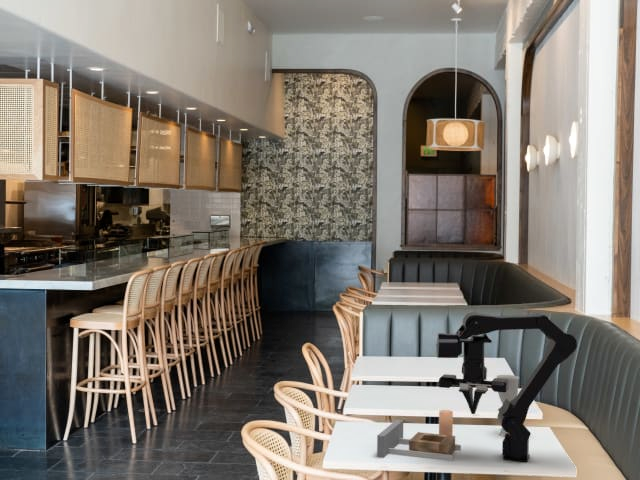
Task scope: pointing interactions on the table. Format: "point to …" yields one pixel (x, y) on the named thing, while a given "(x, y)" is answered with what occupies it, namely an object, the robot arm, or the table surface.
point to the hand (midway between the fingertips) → (473, 413)
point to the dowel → (445, 422)
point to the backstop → (395, 436)
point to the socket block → (432, 443)
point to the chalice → (508, 392)
